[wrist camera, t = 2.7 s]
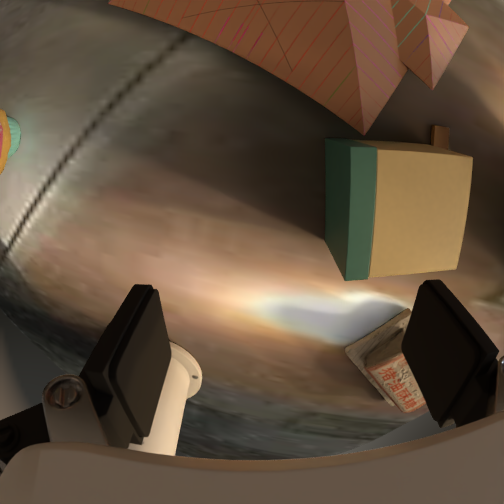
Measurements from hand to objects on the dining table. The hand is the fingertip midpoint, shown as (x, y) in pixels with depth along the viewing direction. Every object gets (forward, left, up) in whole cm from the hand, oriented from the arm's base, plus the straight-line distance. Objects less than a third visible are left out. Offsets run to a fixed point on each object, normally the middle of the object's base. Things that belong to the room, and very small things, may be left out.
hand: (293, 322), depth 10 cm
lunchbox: (+11, 0, -20) cm, 23 cm away
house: (+2, +22, -20) cm, 30 cm away
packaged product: (+19, -24, -20) cm, 37 cm away
